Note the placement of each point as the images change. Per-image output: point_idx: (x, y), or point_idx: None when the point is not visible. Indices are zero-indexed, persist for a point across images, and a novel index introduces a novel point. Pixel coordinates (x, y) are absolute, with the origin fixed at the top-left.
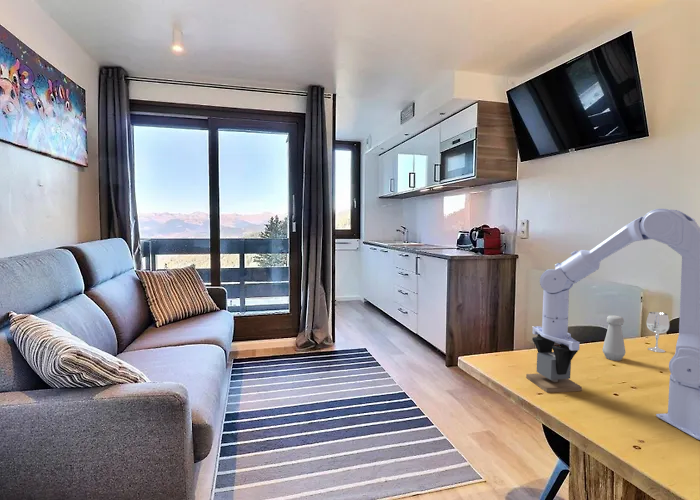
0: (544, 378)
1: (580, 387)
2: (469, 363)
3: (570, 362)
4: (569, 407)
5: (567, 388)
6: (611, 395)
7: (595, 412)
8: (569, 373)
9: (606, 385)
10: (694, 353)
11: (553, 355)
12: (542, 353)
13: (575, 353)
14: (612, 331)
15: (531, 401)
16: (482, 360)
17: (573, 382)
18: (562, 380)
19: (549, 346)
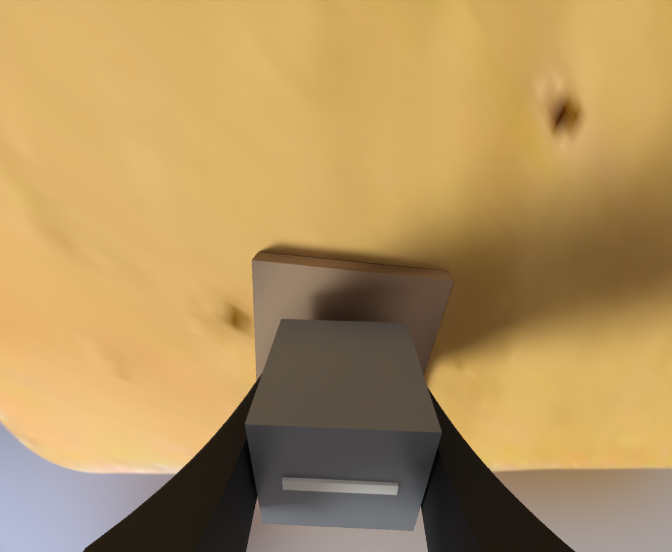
0: None
1: (451, 286)
2: (112, 469)
3: (432, 407)
4: (533, 408)
5: (431, 342)
6: (558, 158)
7: (610, 363)
8: (412, 348)
9: (443, 41)
10: None
11: (341, 489)
12: (278, 508)
13: (562, 545)
14: None
15: None
16: (65, 426)
17: (394, 280)
18: (356, 312)
19: (227, 518)
